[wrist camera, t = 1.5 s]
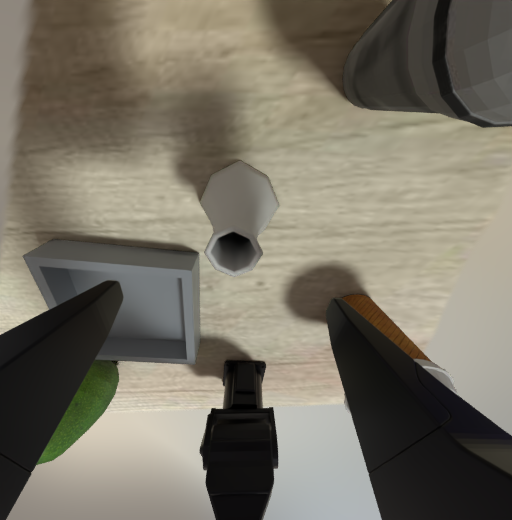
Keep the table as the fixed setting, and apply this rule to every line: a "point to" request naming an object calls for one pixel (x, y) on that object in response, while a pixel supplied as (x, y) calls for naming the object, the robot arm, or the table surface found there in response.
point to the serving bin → (129, 295)
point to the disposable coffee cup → (396, 338)
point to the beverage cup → (436, 60)
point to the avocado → (84, 408)
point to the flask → (237, 216)
